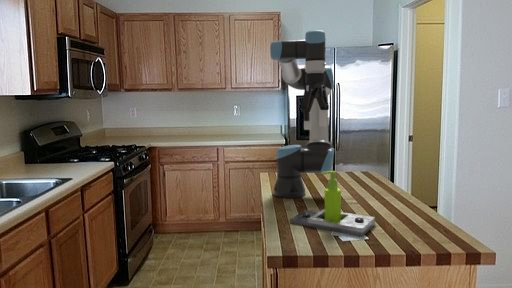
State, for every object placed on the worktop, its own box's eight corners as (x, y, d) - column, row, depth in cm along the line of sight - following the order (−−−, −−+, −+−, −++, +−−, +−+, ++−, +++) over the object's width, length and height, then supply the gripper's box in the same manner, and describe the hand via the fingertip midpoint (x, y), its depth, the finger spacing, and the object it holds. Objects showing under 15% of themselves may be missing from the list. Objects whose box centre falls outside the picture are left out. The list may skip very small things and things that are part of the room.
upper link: (307, 226, 148) (307, 216, 148) (323, 216, 160) (323, 207, 159) (362, 236, 137) (362, 226, 137) (374, 224, 148) (374, 215, 148)
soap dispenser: (320, 221, 153) (320, 170, 150) (338, 220, 154) (338, 169, 151) (324, 227, 147) (324, 173, 144) (342, 226, 148) (343, 172, 145)
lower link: (289, 222, 153) (289, 217, 152) (305, 213, 164) (305, 208, 163) (341, 232, 141) (341, 226, 141) (355, 221, 152) (355, 215, 152)
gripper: (309, 71, 142) (310, 131, 145) (337, 72, 163) (336, 125, 166) (291, 72, 146) (291, 130, 149) (319, 73, 167) (320, 124, 170)
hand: (315, 128), depth 157 cm, fingers open, 13 cm apart
